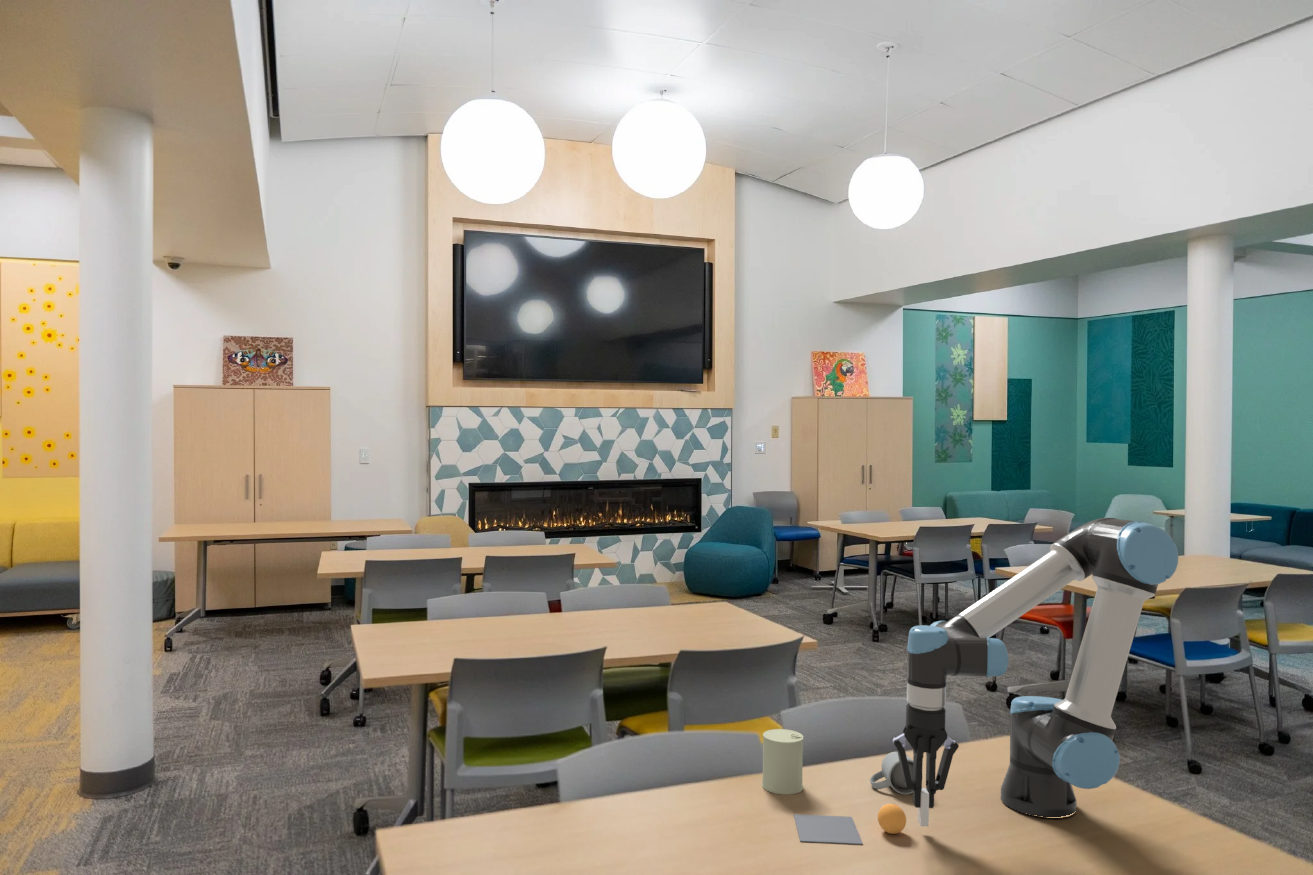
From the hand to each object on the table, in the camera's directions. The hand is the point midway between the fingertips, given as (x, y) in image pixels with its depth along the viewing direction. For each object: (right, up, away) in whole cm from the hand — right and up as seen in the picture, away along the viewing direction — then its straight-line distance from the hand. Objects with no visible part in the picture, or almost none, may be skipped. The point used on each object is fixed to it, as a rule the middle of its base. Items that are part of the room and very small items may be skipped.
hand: (922, 823), depth 171 cm
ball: (-6, +1, 0) cm, 6 cm away
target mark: (-19, -2, +1) cm, 19 cm away
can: (-25, -2, +22) cm, 34 cm away
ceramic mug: (+1, -3, +23) cm, 23 cm away
